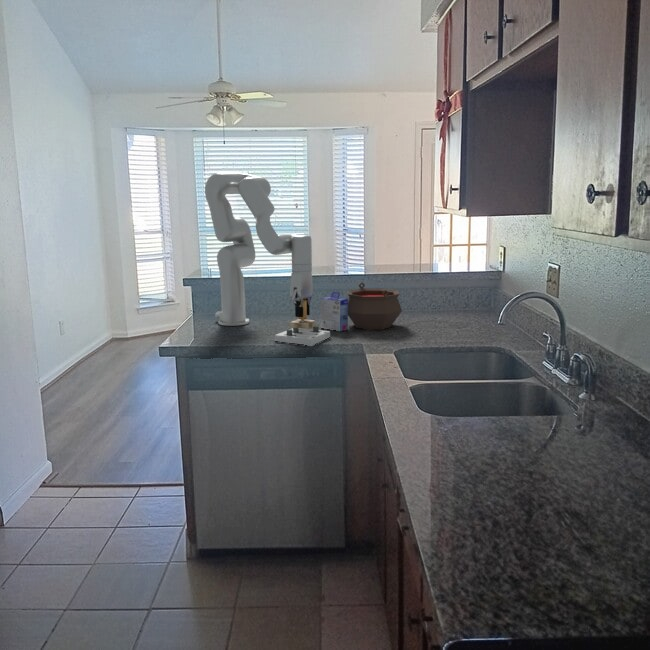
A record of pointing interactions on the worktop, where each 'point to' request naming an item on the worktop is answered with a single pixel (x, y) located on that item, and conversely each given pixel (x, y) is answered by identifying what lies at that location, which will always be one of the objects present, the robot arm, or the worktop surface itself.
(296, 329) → the tab
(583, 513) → the worktop surface
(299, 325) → the stand
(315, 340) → the switch bank
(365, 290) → the brown cauldron pot
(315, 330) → the tab
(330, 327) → the ink cartridge box
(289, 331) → the tab
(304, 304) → the tan rounded cylinder
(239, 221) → the robot arm
